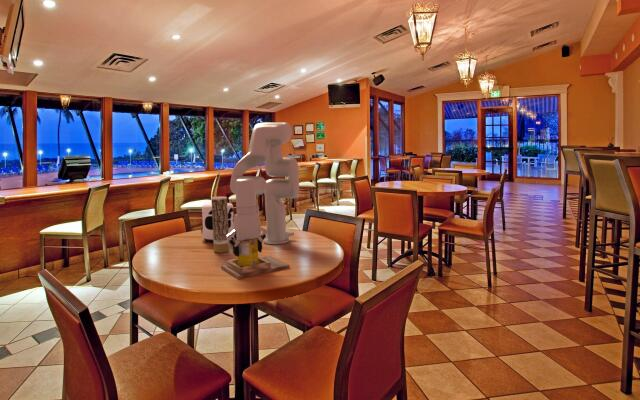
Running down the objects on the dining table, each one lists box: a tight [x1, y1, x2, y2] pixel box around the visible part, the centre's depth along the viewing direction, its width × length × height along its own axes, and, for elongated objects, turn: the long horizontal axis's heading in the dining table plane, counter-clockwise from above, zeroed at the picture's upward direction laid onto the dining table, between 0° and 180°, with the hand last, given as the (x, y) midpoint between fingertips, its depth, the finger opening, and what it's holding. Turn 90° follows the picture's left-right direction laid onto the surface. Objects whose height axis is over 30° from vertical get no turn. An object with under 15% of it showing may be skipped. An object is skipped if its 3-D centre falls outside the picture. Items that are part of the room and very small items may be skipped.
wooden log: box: [211, 196, 230, 254], centre depth 181 cm, size 7×7×25 cm
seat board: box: [220, 255, 290, 280], centre depth 157 cm, size 22×16×3 cm
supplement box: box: [237, 238, 259, 267], centre depth 155 cm, size 6×6×11 cm
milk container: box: [200, 202, 234, 242], centre depth 204 cm, size 17×17×18 cm
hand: (248, 253), depth 155 cm, fingers open, 9 cm apart
